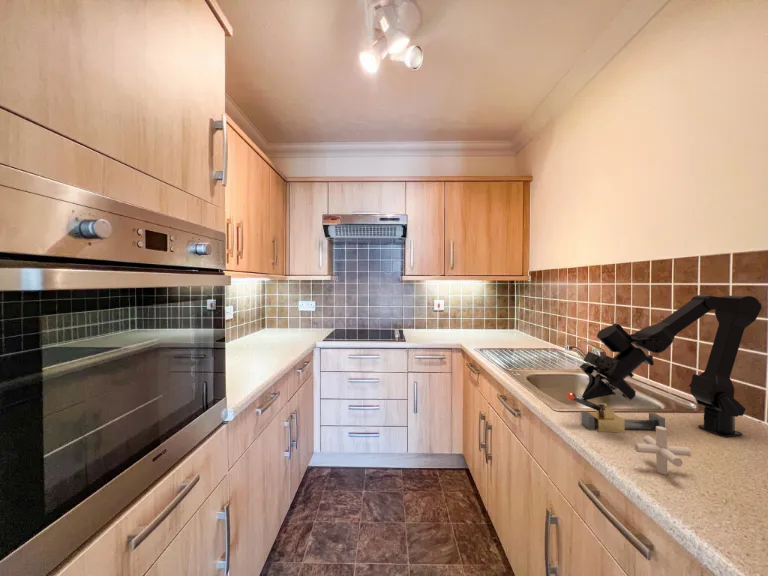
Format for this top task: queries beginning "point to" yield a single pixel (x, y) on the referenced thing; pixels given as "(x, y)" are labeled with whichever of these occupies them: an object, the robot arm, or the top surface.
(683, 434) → the top surface
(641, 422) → the valve pipe
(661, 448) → the pipe connector
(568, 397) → the valve lever
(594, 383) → the robot arm
